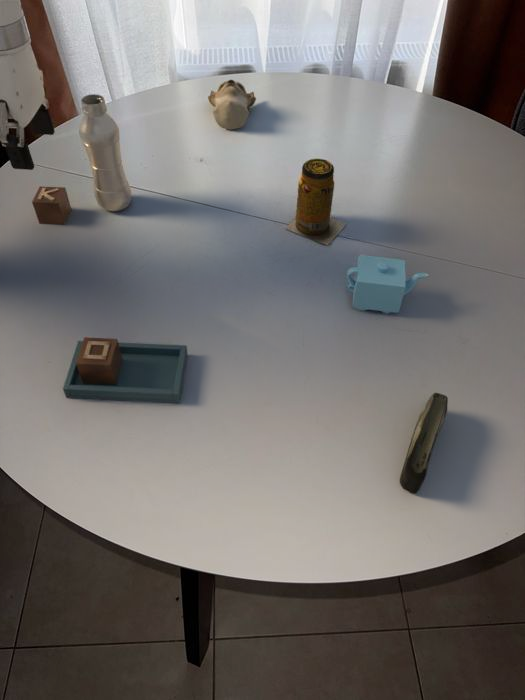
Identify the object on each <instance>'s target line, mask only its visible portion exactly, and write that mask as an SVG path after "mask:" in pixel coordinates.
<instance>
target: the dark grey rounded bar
mask: <svg viewBox="0 0 525 700" xmlns="http://www.w3.org/2000/svg"><path fill="white" fill-rule="evenodd" d="M448 401H449V399H448V396H447V395H445V394H442V393H439V392H434V393H432V395H430V397H428V400H427V401H426V405H425V406H424V407H425V408H424V409H423V411H422V412H421V413H420V414H419V417H418V419H417V421H416V423H415V427H414V430H413V433H412V436H411V439H410V443H409V446H408V449H407V452H406V456H405V460H404V463H403V466H402V470H401V473H400V476H399V484H400V486H401V487H402V489H403V490H405V491H407V492H408V493H410V494H414V495H415V494H417V493H419V491H420V490H421V487H422V485H423V483H424V481H425V479H426V476H427V472H428V467H429V464H430V460H431V456H432V454H433V451H434V446H435V444H436V440H437V437H438V435H439V433H440V431H441V429H442V427H443V425H444V422H445V420H446V417H447V413H448V403H449V402H448Z"/></svg>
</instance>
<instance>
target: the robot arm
mask: <svg viewBox="0 0 525 700" xmlns="http://www.w3.org/2000/svg"><path fill="white" fill-rule="evenodd" d="M31 42H32V39H31V36H30V31H29V28H28V24H27V21H26V17H25V14H24V9H23V6H22V2H21V0H0V144H1V145H2V147H4V148H5V151H6V153H7V157H8V159H9V162H10V166H11V167H12V169H15V170H25V171H26V170H27V171H32V170H34V168H35V163H34V160H33V157H32V154H31V151H30V148H29V145H28V143H27V142H25V128H26V127H27V126H28V125H29V124H31V127H32V130H33V133H34V134H35V135H47V136H53V135H54V134H55V132H56V131H55V127H54V124H53V120H52V117H51V113H50V109H49V101H48V99H47V98H46V92H47V89H46V86H45V85H44V84H45V83H44V72H43V70H42V69H40V68H39V65H38V62H37V59H36V56H35V54H34V51H33V48H32V45H31ZM9 119H11V120H14V121H15V122H14V121H9ZM9 129H16V135H13V134H12V133H10V130H9Z"/></svg>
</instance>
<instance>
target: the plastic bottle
mask: <svg viewBox="0 0 525 700" xmlns="http://www.w3.org/2000/svg"><path fill="white" fill-rule="evenodd" d="M80 104H81V111H82V114H84V115H83V116H82V119H81V121H80V123H79V126H78V134H79V137H80V139H81V142H82V145H83V147H84V150H85V152H86V156H87V158H88V162H89V164H90V168H91V175H92V181H93V196H94V198H95V201H96V203H97V205H99V207H101V208H102V209H104V210H106V211H109V212H119V211H122V210H124V209H126V208H127V207H128V206H129V205H130V203H131V201H132V189H131V185H130V183H129V181H128V179H127V176H126V173H125V169H124V166H123V165H124V164H123V160H122V154H121V141H120V139H121V138H120V137H121V136H120V128H119V126H118V124H117V122H116V120H114V118H113V117H112V116H111V115H110V114H108V112H107V111H108V107H107V105H106V100H105V98H104V96H102V95H101V94H95V93H93V94H92V93H91V94H86V95H85V96H82V98H81V99H80Z"/></svg>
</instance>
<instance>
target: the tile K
mask: <svg viewBox="0 0 525 700" xmlns="http://www.w3.org/2000/svg"><path fill="white" fill-rule="evenodd" d="M31 203H32V206H33V209H34V212H35V215H36V218H37V221H38V224H43V225H45V224H46V225H66V223H67V220H68V219H69V218H68V217H69V215H70V213H71V211H72V206H71V203H70V199H69V196H68V193H67V188H66V187H64V186H62V187H61V186H43V185H42V186H39V187H38V189H37V191H36V193H35V195H34V197H33V199H32V201H31Z"/></svg>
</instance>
